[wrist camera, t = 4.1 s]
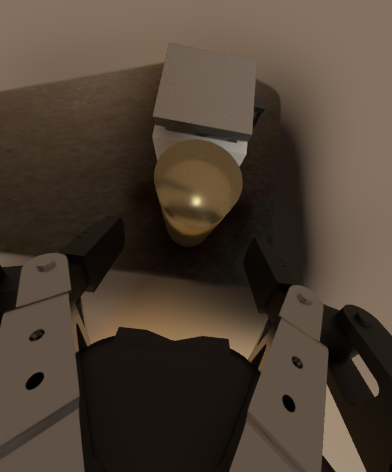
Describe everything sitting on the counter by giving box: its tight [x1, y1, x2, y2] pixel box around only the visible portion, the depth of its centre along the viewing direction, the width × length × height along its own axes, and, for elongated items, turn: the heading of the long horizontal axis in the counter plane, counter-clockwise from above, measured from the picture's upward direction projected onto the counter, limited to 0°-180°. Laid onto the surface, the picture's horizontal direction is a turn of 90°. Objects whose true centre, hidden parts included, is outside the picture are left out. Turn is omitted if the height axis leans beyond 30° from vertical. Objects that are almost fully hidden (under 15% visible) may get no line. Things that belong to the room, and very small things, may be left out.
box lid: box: [153, 43, 265, 142], centre depth 17 cm, size 10×8×4 cm
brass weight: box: [154, 139, 242, 247], centre depth 14 cm, size 5×5×10 cm
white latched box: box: [152, 125, 247, 166], centre depth 19 cm, size 9×9×5 cm
